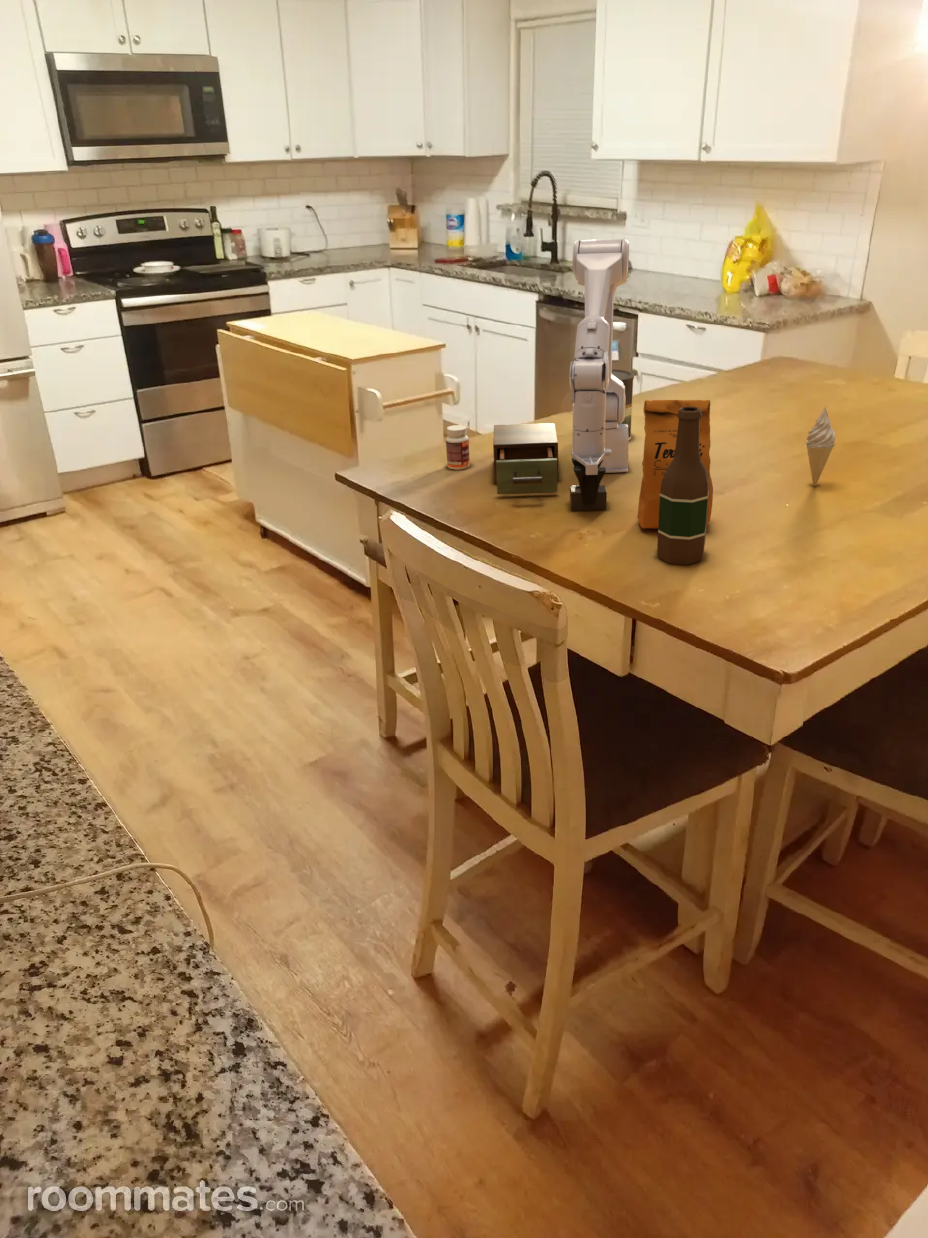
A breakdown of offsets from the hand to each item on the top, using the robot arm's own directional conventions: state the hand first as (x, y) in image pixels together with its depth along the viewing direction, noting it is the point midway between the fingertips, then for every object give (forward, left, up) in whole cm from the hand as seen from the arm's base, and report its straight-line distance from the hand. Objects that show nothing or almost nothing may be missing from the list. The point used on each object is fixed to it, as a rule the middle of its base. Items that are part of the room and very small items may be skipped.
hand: (588, 499), depth 168 cm
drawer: (+11, -10, -1) cm, 15 cm away
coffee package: (-14, +10, -2) cm, 17 cm away
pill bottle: (+25, -26, -2) cm, 36 cm away
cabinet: (+11, -21, -1) cm, 24 cm away
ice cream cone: (-43, -7, -2) cm, 44 cm away
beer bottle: (-13, +23, -2) cm, 26 cm away
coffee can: (-8, -42, -2) cm, 43 cm away
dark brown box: (0, 0, -1) cm, 1 cm away
